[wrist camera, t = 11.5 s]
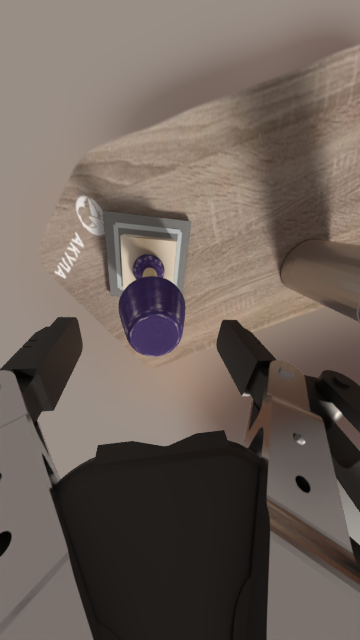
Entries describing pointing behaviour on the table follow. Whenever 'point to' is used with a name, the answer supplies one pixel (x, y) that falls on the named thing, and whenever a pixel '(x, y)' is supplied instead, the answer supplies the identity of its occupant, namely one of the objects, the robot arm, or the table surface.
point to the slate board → (143, 226)
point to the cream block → (146, 245)
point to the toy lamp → (152, 309)
